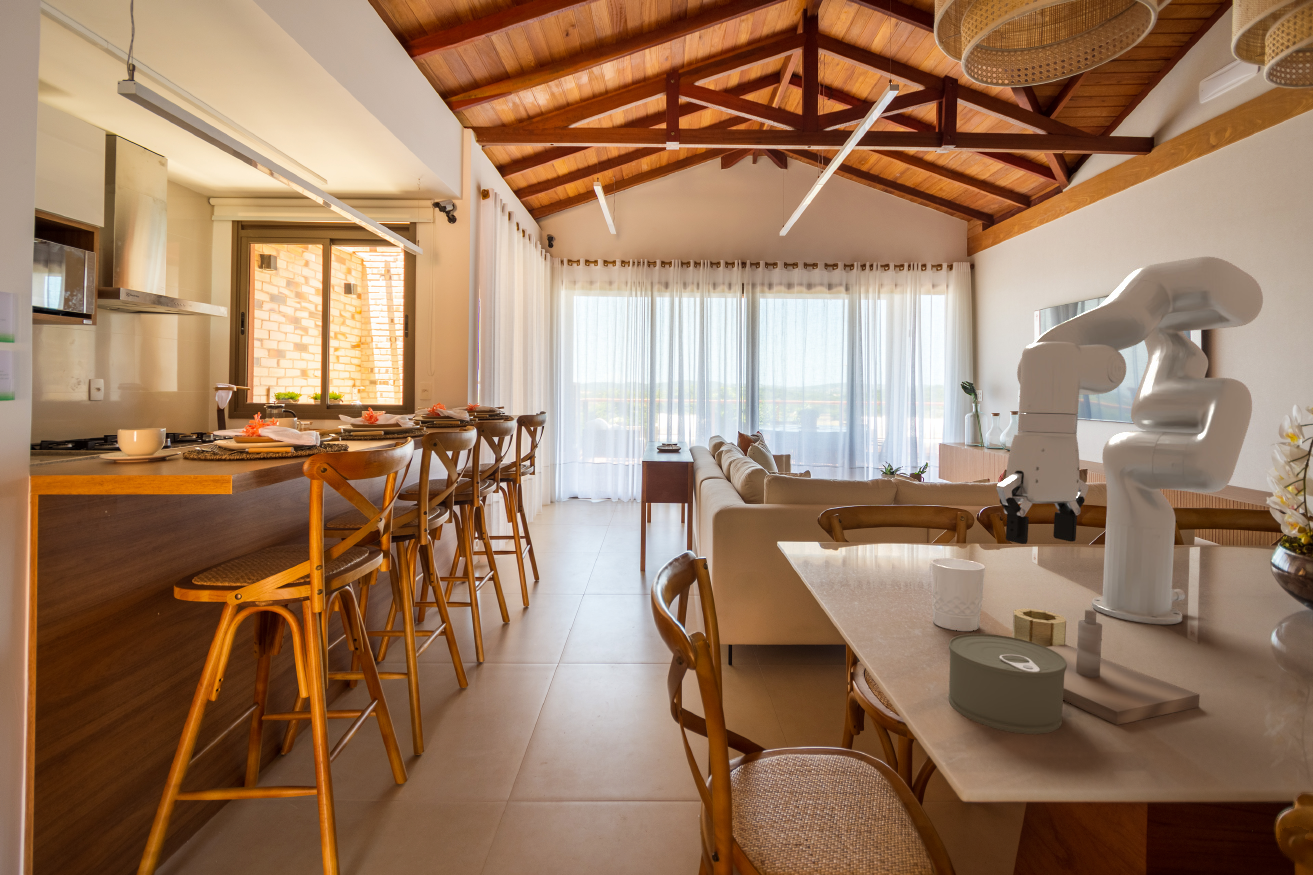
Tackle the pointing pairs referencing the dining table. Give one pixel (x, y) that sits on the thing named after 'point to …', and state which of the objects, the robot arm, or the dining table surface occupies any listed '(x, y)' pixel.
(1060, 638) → the ring
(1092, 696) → the post block
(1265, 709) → the dining table surface
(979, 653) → the can
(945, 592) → the white cup
